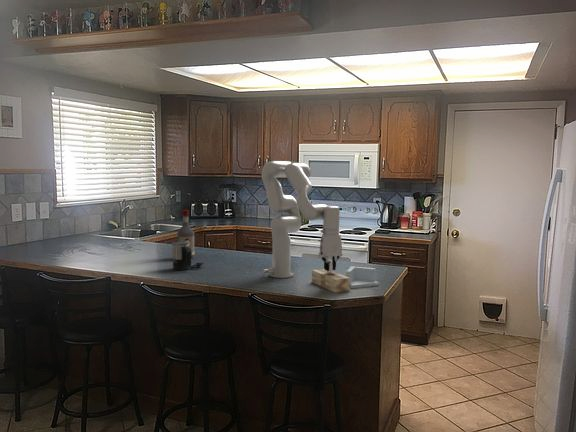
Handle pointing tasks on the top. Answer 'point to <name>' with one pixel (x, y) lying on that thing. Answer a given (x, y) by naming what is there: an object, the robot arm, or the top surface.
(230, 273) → the top surface
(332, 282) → the beam
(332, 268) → the axle
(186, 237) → the liquor
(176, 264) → the milk frother
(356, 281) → the grey angled piece
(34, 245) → the top surface
